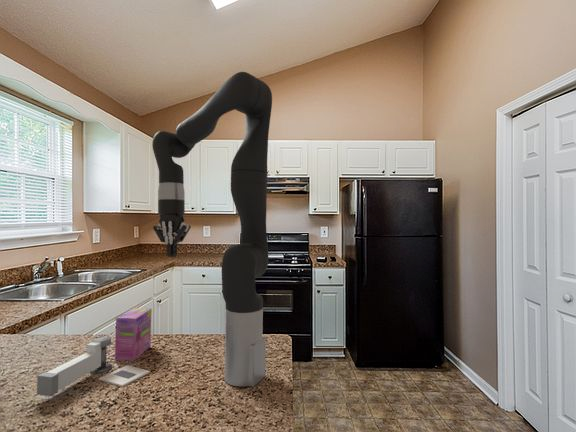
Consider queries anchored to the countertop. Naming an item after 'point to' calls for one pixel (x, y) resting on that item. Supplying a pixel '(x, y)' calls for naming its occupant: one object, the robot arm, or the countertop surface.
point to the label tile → (124, 375)
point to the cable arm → (72, 369)
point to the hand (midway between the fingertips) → (171, 256)
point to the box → (133, 334)
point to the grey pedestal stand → (103, 362)
